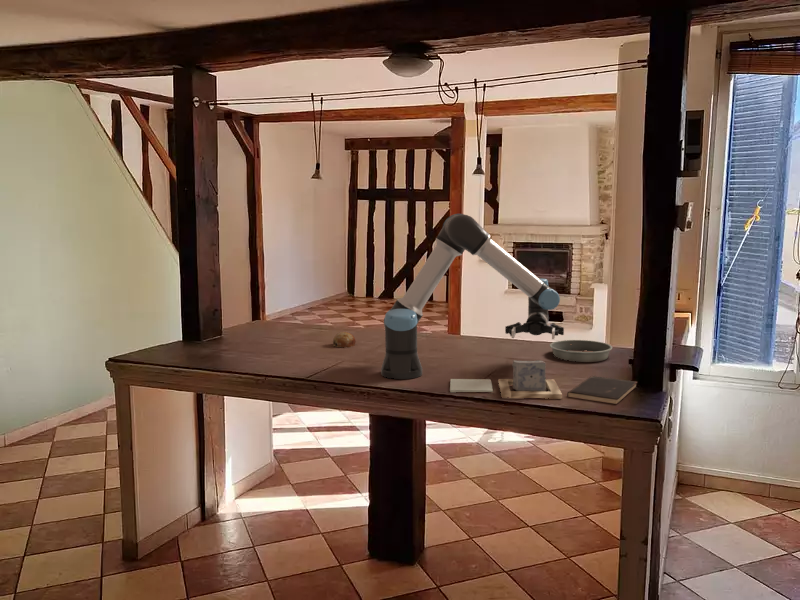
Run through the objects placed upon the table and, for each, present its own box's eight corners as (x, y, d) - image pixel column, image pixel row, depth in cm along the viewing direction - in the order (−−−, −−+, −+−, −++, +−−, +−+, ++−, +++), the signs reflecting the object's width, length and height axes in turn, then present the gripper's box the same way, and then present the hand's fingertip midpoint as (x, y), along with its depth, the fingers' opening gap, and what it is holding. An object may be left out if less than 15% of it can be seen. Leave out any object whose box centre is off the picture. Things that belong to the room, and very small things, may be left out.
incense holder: (540, 387, 223) (541, 357, 222) (546, 394, 215) (547, 363, 214) (511, 387, 223) (512, 357, 222) (516, 394, 215) (516, 363, 213)
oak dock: (501, 398, 211) (501, 393, 211) (498, 383, 229) (498, 378, 229) (562, 398, 209) (562, 394, 209) (554, 383, 227) (554, 379, 227)
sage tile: (450, 392, 218) (450, 390, 218) (450, 381, 232) (450, 379, 232) (492, 392, 217) (492, 390, 217) (490, 381, 231) (490, 379, 231)
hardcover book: (637, 388, 222) (637, 381, 222) (617, 406, 203) (617, 398, 203) (590, 381, 231) (590, 375, 231) (567, 398, 212) (567, 391, 212)
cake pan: (614, 352, 275) (614, 341, 274) (609, 365, 252) (609, 354, 252) (554, 348, 284) (554, 337, 283) (544, 360, 261) (544, 349, 261)
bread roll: (332, 353, 297) (325, 338, 293) (347, 340, 302) (341, 325, 299) (346, 356, 290) (339, 341, 286) (362, 343, 295) (355, 328, 292)
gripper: (571, 334, 244) (570, 346, 223) (503, 332, 250) (496, 344, 230) (571, 314, 243) (570, 324, 222) (502, 313, 249) (496, 323, 229)
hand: (532, 334), depth 226 cm, fingers open, 13 cm apart
